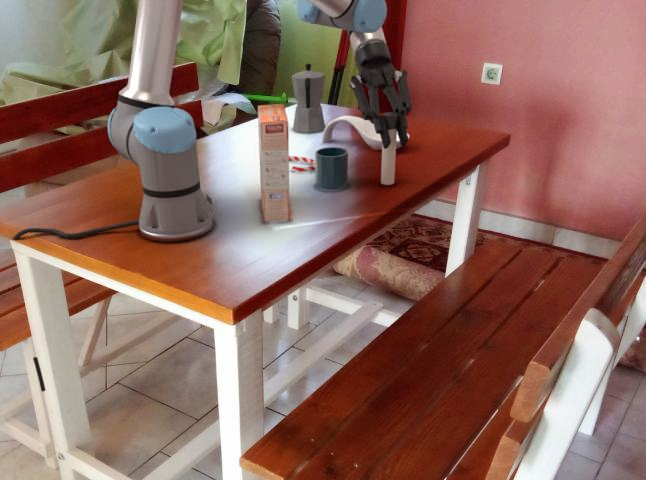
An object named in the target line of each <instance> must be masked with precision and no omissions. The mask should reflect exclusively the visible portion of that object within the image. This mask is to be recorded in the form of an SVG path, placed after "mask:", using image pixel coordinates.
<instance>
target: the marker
mask: <svg viewBox="0 0 646 480" xmlns="http://www.w3.org/2000/svg"><path fill="white" fill-rule="evenodd" d="M382 115H384V118H385V122H386V125H387V129H388V133H389V136H390V140H391V143H390V145H389V146H388V148H386V149H384V147H383V143H382V150H381V168H380V169H381V170H380V171H381V172H380V184H381V185H385V186H390V185H394V184H395V173H396V154H397V152H396V151H397V149H396V136H397V121H398V114H397V113H395V112H394V111H393V112H392V111H389V112H388V111H387V112H384V113H383V114H382Z"/></svg>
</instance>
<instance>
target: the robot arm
mask: <svg viewBox="0 0 646 480" xmlns="http://www.w3.org/2000/svg"><path fill="white" fill-rule="evenodd" d="M183 6H184V0H138V3H137V11H136V19H135V27H134V34H133V43H132V48H131V49H132V50H131V56H130V57H131V58H130V64H129V72H128V81H127V84H126V86H125V87H123V88H122V89H121V90H119V92H118V97H117V105H116V107H115V108H113V109H112V111H111V112H110V114H109V117H108V120H107V135H108V138H109V141H110V143H111V145H112V147H114V149H115V150H116V151H117V152H118V154H119V155H121V156H122V157H123V158H124V159H126V160H129V162H131V163H133V164H134V165H136V166H137V167H139V172H140V179H141V187H142V193H143V197H142V203H141V208H140V213H139V219H136V220H130V221H126V222H121V223H115V224H111V225H106V226H102V227H97V228H93V229H89V230H85V231H81V232H74V233H71V232H69V233H67V232H64V231H61V230H59V229H55V228H45V227H43V228H42V227H29V228H25V229H22V230H20V231H18V232H17V233H15V235H14V236H13V237H12V241H17V240H19V239H20V238H21V237H22V236H24V235H27V234H33V233H35V234H36V233H38V234H54V235H56V236H59V237H62V238H64V239H76V238H77V239H78V238H83V237H87V236H90V235H95V234H98V233H104V232H109V231H113V230H117V229H123V228H127V227H128V228H129V227H133V226H138V228H139V233H140V235H141V236H142V237H143V238H145V239H147V240H151V241H154V242H160V243H176V242H177V243H178V242H183V241H189V240H193V239H197V238H199V237H201V236H204V235H206V234H207V233H209V232H210V231H211V230H212V228H213V226H214V221H213V215H212V212H211V209H210V208H209V206H208V203H209V205H210V206H213V199H212V198H211V197H210V196H209V194H207V193H205V196H204V193H203V191H202V188H201V179H200V168H199V167H200V166H199V156H198V155H199V154H198V145H197V130H196V128H195V127H196V126H195V121H194V119H193V117H192V116H191V114H190V113H189V112H188V111H186V110H184V109H182V108H177V107H175V106H176V102H175V101H174V100H173V98H172V96H171V95H170V94H171V93H170V90H171V83H172V77H173V72H174V71H173V70H174V65H175V59H176V58H175V57H176V53H177V52H176V51H177V45H178V38H179V32H180V25H181V19H182V12H183ZM387 7H388V6H387V2H386V0H297V3H296V12H297V16H298V18H299V19H300V20H301V21H302V22H305V23H309V24H310V25H319V26H323V27H328V28H335V29H341V30H345V31H346V32H347V37H348V39H349V43H350V46H351V50H352V54H353V56H354V61H355V65H356V69H357V72H358V73H357V75H352V76H351V78H350V80H349V83H348V86H349V88H350V89H351V90H352V91H353V93H354V97H355V100H356V102H357V105H358V108H359V111H360V114H361V116H362V119H364V120H368V121H370V122H371V123H372V124H374V128H375V131H376V133H377V134H380V136H381V139H382V143H383V147H384V149H386V148H388V146H389V145H390V143H391V140H390V136H389V133H388V129H387V125H386V122H385V118H384V115H383V114H382V115H380V114H381V113H380V112H381V111H380V102H379V101H380V99H379V90H382V93H383V94H384V95H385V96H386V97H387V100H388V102H389V105H390V106H391V108H392V110H393V112H395V113H397V114H398V121H397V133H398V136H399V140H400V143H401V147H406V145H407V143H408V141H409V139H410V138H409V139H408V136H407V133H408V132H407V130H408V128H409V122H408V120H407V119H408V118H407V116H409V114H410V112H411V111H412V109H413V105H412V99H411V95H410V91H409V86H408V80H407V79H408V71H407V69H403V70H402V71H399V70H396V67H394V65H393V64H392V59H391V54H390V51H389V48H388V45H387V41H386V37H385V34H384V30H383V28H382V26H383V25H384V24H385V21H386V18H387V12H388V8H387ZM394 78H395V82H396V83H397V89H398V92H397V89H396V88H395V84H394V81H393V79H394ZM363 85H364V86H366V87H367V92H368V93H367V94H368V97H369V101H368V98H367V96H366V92H365V89H364V87H363ZM401 147H400V148H401ZM205 197H206V198H205ZM28 232H29V233H28ZM32 359H33V363H34V366H35V370H36V374H37V377H38V382H39V387H40V391H41V392H45V391H46V387H45V382H44V377H43V374H42V369H41V366H40V362H39V357H38V356H34V357H32Z"/></svg>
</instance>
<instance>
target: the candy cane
mask: <svg viewBox="0 0 646 480" xmlns="http://www.w3.org/2000/svg"><path fill="white" fill-rule="evenodd" d="M295 161H296V162H305V163H309V164H311V165H310V166H305V167H304V166H302V167H299V166H292V167H291V170H292V171H296V172H311V171H314V170H315V159H313V158H309V157H303V156H295V155H289V162H295Z"/></svg>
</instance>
